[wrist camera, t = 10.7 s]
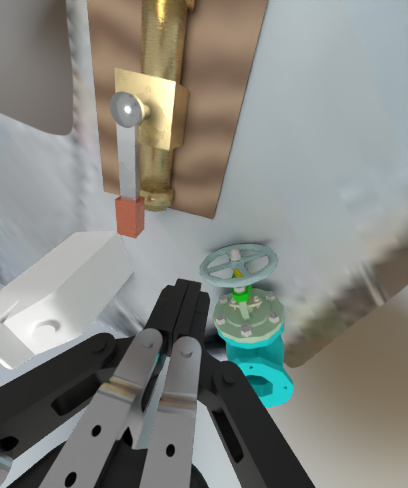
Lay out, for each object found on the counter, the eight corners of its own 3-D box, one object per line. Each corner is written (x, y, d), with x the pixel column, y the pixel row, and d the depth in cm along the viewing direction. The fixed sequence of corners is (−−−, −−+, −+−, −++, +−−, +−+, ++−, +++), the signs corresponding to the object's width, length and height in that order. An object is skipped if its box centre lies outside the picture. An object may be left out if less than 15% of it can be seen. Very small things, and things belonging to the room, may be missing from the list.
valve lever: (147, 97, 20) (135, 94, 18) (145, 229, 29) (137, 238, 27) (119, 91, 20) (104, 87, 18) (126, 224, 29) (116, 233, 27)
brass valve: (147, -35, 23) (81, -145, 13) (205, -22, 22) (180, -125, 13) (142, 194, 38) (110, 218, 29) (176, 203, 38) (155, 230, 28)
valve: (224, 404, 40) (182, 281, 29) (230, 332, 55) (205, 235, 44) (300, 410, 36) (285, 271, 25) (283, 331, 51) (270, 224, 40)
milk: (75, 232, 47) (-68, 328, 25) (118, 231, 45) (1, 335, 23) (95, 271, 53) (-6, 375, 31) (133, 271, 51) (53, 384, 29)
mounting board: (89, -58, 23) (80, -68, 22) (272, -18, 22) (273, -26, 21) (108, 189, 39) (103, 191, 38) (213, 216, 39) (212, 219, 38)
